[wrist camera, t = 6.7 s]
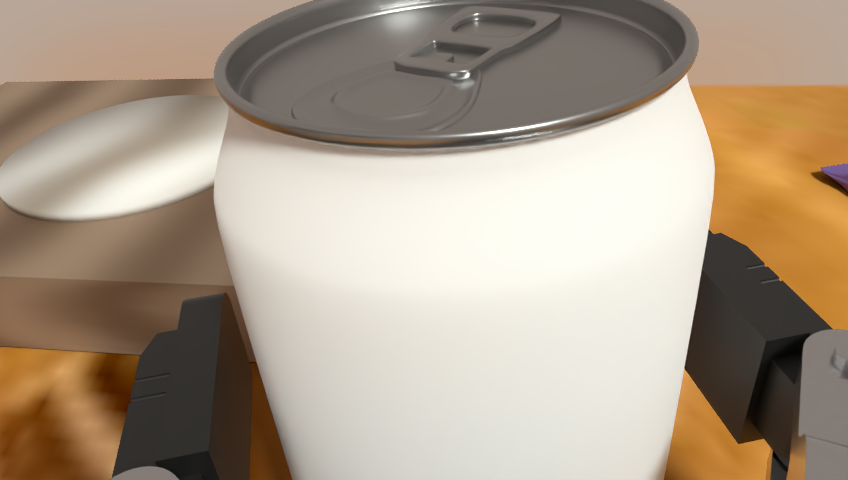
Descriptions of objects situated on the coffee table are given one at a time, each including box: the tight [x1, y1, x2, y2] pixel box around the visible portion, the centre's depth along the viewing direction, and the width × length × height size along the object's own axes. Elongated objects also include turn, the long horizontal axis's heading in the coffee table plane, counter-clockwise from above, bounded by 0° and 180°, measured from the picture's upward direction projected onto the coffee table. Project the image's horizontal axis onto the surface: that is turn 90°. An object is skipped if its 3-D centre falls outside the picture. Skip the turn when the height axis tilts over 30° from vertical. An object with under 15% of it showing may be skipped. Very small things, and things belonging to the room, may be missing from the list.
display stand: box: [0, 79, 256, 362], centre depth 28 cm, size 20×16×3 cm
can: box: [213, 0, 715, 480], centre depth 12 cm, size 6×6×12 cm
